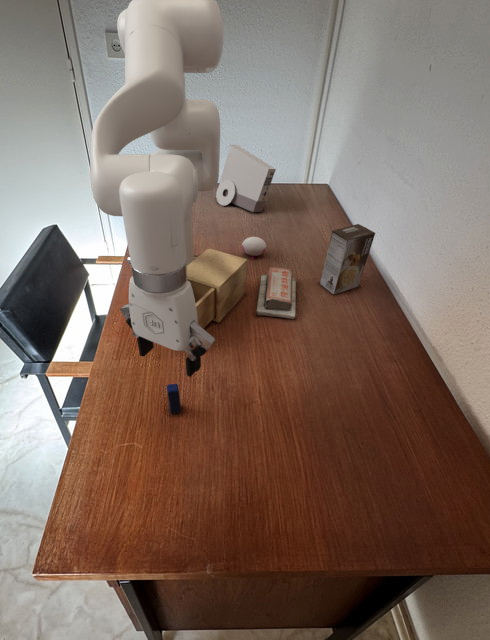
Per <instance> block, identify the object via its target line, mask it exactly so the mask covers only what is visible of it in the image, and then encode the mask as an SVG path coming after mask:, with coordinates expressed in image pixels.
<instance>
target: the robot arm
mask: <svg viewBox="0 0 490 640" xmlns="http://www.w3.org/2000/svg"><path fill="white" fill-rule="evenodd" d="M223 22H224V21H223V16H222V13H221V9H220V7H219V4H218V2H217V0H131V1H130V2H129V4H128V6H127V8H126V9H123V10H122V11H121V12H120V13H119V15H118V17H117V22H116V28H117V37H118V40H119V44H120V46H121V49H122V51H123V53H124V84H123V85H122V86H121V87H120V88H119V89H118V90H117V91H116V92H115V93H114V94H113V95H112V96H111V97H110V99H108V101H107V102H106V103H105V104H104V106H103V108H102V109H100V112H99V113H98V115H97V117H96V118H95V121H94V123H93V127H92V130H91V136H90V155H89V156H90V159H89V166H90V167H89V170H90V171H89V177H90V188H91V193H92V196H93V200H94V202H95V204H96V205H97V207H98V208H99V210H100V211H101V212H103V213H104V214H106V215H109V216H112V217H122V221H123V226H124V232H125V237H126V238H125V239H126V243H127V249H128V257H127V260H126V262H127V264H128V265H129V266H130V267H131V273H132V276H130V278H129V284H128V303H126V304H125V305H123V306H122V307H120V308H119V309H120V312H121V314H122V316H123V317H124V319H126V320H125V323H126V325H127V326H128V327H129V328H130V329H131V330H132V335H133V337H135V338H136V341H137V347H138V353H139V356H140V357H146V356H147V354H149V353H150V352H151V351H152V350H153V349H154V348H155V345H154V344H157V345H159V346H161V347H165V348H167V349H170V350H172V351H176V352H184V353H185V355H186V356H187V357H186V358H185V371H186V372H185V373H186V375H187V377H189V378H191V377H192V376H193V375H194V374H195V373H197V372H199V371H200V369H201V367H202V358H201V357H202V356H205V354H207V352H208V351H210V349H211V348H212V346H213V345H214V344H215V343H216V339H215V337H214V336H212V335H211V334H210V333H209V332H208V331H206V329H205V328H204V329H203V328H202V327H200V326H199V325H198V319H197V310H196V303H195V298H194V294H193V290H192V286H191V283H190V282H189V281H187V265H189V264H190V263H191V262H192V261H193V260H195V259H196V258H197V257H195V253H194V252H195V251H194V250H195V249H194V224H193V223H194V222H193V207H194V204H195V203H196V202H197V200H198V196H199V192H209V191H213V190H214V189H215V188H216V187H218V184H219V177H220V158H221V117H220V113H219V109H218V106H217V105H216V104H215V103H214V102H213V101H212V100H209V99H203V98H200V99H197V98H196V99H195V98H193V99H191V98H190V99H189V98H187V97H186V96H187V95H186V77H185V74H209V73H213V72H214V71H215V70H216V69H217V68H218V67H219V64H220V62H221V59H222V56H223V50H224V49H223V48H224V40H225V39H224V23H223ZM148 134H149V135H150V138H151V141H152V143H153V144H154V146H155V147H156V148H157V149H156V150H154V151H153V152H152V153H146V154H145V153H140V154H139V153H137V154H136V153H135V154H130V153H126V154H125V153H124V154H120V153H121V151H122V150H123V149H124V148H125V147H126V146H127V145H129V144H130V143H132V142H133V141H135V140H137V139H139V138H141V137H143V136H146V135H148ZM190 342H191V343H192V346H193V347H194V348H193V349H192V348H191V345H189V343H190Z"/></svg>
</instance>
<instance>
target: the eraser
mask: <svg viewBox="0 0 490 640" xmlns="http://www.w3.org/2000/svg"><path fill="white" fill-rule="evenodd" d="M166 392H167V400H168V407H169V412H170V414H171V415H175V414H177V415H178V414H180V413H181V411H182V408H181V397H180V390H179V384H178V383H170V384H169V383H168V384H167V385H166Z"/></svg>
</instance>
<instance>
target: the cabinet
mask: <svg viewBox="0 0 490 640" xmlns="http://www.w3.org/2000/svg"><path fill="white" fill-rule="evenodd" d="M195 258H196V259H195V260H193V261H192V262H191V263H190V264H189V265H187V279H189V280H192V281H195V282H198V283H201V284H204V285H207V286H211V287H214V288H217V297H216V316H215V317H214V318H213V319H212V320H211V321H212V322H216V323H218V324H219V323H220V322H221V321H222V320H224V318H225V317H226V316H227V315H228V314H229V312H230V311H231V310H232V309H233V308H234V307H235V306H236V305H237V303H238V302H240V301H241V299H242V298H243V297H244V296H245V294H246V284H247V283H246V281H247V270H248V269H247V268H248V258H244V257H240V256H238V255H235V254H230V253H226V252H223V251H220V250H217V249H213V248H207V249H206V250H204V251H203V252H202V253H201V254H200V255H198V256H197V257H195Z"/></svg>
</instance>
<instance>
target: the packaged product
mask: <svg viewBox="0 0 490 640" xmlns="http://www.w3.org/2000/svg"><path fill="white" fill-rule="evenodd" d="M296 283H297V280H296V278H293V271H292V270H290V269H289V268H286V267H285V268H284V267H273V266H272V267H271V266H270V267H269V269H268V271H267V275H266V274H262V275H261V276H260V283H259V289H258V290H259V291H258V296H257V303H256V316H265V317H273V318H274V317H275V318H286V319H289V320H290V319H291V320H295V318H296V296H297V295H296V292H297V291H296V290H297V289H296Z"/></svg>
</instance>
